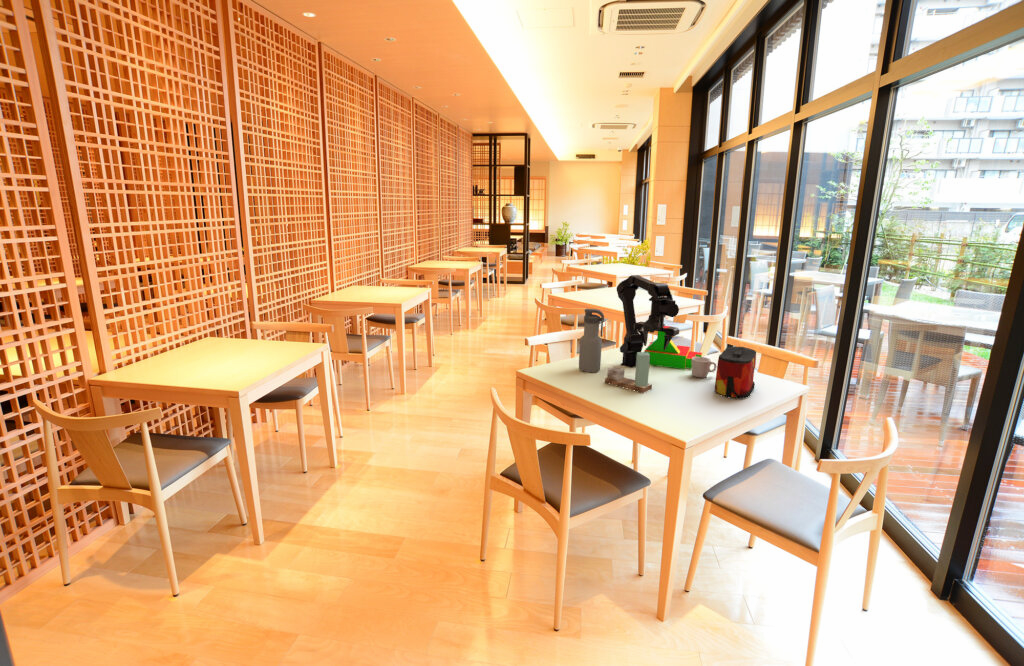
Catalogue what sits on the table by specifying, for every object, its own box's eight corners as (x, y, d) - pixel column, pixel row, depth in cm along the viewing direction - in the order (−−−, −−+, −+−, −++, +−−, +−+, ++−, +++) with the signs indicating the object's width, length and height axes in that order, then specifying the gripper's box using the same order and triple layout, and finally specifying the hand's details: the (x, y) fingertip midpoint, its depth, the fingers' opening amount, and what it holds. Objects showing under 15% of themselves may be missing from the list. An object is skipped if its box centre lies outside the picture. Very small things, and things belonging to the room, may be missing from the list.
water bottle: (600, 367, 244) (604, 308, 238) (601, 373, 235) (604, 312, 228) (578, 366, 246) (581, 307, 239) (578, 372, 236) (581, 311, 230)
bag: (724, 376, 234) (728, 340, 230) (758, 382, 227) (763, 345, 223) (710, 395, 209) (714, 356, 206) (747, 402, 202) (752, 361, 199)
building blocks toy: (698, 371, 242) (702, 332, 238) (643, 364, 252) (646, 327, 247) (701, 361, 259) (705, 324, 255) (649, 354, 268) (652, 319, 264)
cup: (712, 374, 237) (714, 357, 235) (717, 379, 229) (719, 362, 228) (688, 373, 238) (689, 356, 236) (692, 378, 230) (693, 361, 229)
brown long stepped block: (604, 382, 223) (605, 369, 221) (613, 379, 228) (614, 365, 226) (643, 393, 211) (644, 378, 209) (651, 389, 216) (652, 375, 214)
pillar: (634, 382, 217) (636, 352, 214) (645, 382, 217) (648, 352, 214) (636, 385, 213) (638, 355, 210) (647, 386, 212) (650, 355, 209)
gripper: (628, 312, 226) (626, 347, 230) (669, 318, 214) (666, 355, 218) (641, 308, 234) (639, 342, 238) (681, 314, 222) (678, 350, 226)
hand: (654, 347), depth 230 cm, fingers open, 9 cm apart
